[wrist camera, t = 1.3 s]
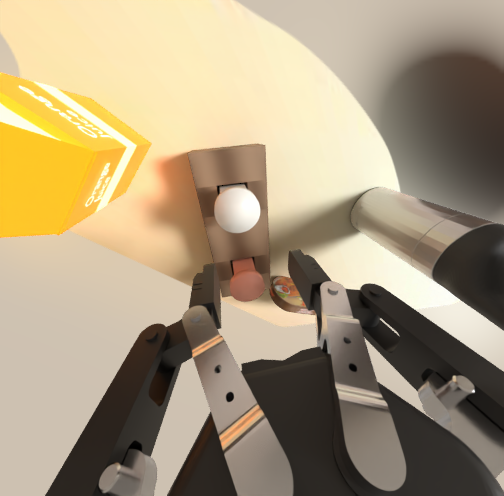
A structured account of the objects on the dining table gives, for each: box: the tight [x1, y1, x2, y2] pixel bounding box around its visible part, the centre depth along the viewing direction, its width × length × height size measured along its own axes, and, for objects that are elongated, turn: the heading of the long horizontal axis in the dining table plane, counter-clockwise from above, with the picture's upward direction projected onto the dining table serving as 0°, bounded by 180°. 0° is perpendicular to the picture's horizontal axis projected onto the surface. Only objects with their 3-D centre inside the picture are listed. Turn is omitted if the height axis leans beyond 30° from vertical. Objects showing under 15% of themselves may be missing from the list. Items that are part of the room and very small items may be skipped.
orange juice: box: [0, 72, 152, 238], centre depth 17 cm, size 8×9×20 cm
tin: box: [269, 276, 316, 315], centre depth 42 cm, size 15×3×8 cm, turn 68°
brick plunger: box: [230, 257, 265, 302], centre depth 32 cm, size 6×6×6 cm
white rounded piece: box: [214, 184, 260, 233], centre depth 25 cm, size 6×6×6 cm
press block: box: [188, 144, 271, 297], centre depth 32 cm, size 10×26×5 cm, turn 5°
